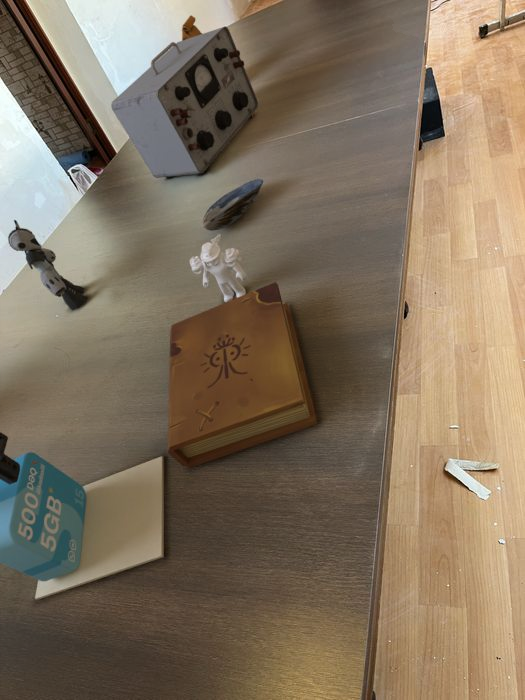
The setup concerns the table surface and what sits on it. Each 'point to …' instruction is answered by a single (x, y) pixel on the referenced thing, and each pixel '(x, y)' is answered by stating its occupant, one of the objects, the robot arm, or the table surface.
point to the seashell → (231, 206)
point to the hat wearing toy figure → (220, 268)
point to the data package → (41, 520)
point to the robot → (46, 267)
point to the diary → (235, 378)
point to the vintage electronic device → (187, 104)
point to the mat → (118, 526)
